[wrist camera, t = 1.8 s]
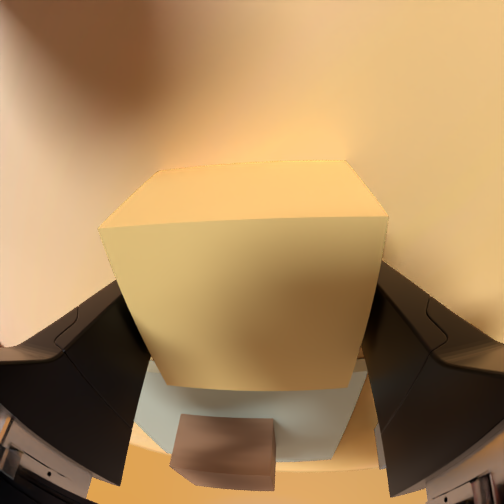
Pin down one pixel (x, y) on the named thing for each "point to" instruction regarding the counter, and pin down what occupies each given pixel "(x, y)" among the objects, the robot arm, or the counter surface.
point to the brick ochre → (250, 272)
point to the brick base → (226, 452)
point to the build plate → (255, 412)
